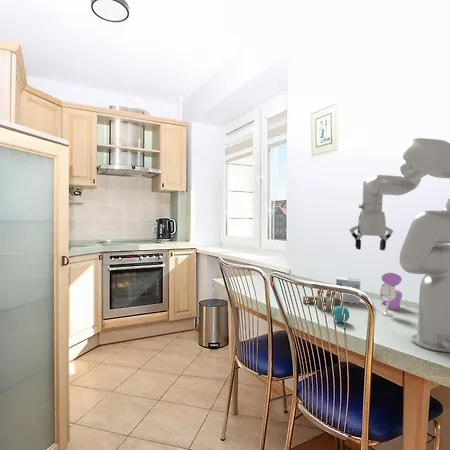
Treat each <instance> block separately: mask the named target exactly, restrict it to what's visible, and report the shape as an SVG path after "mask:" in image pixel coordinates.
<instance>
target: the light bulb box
mask: <svg viewBox="0 0 450 450" xmlns="http://www.w3.org/2000/svg"><path fill="white" fill-rule="evenodd" d="M335 281H336V283H335V286H336V285H340V286H347V287H352V288H356V289H359V290H360V291H361V278H353V277H342V276H341V277H340V276H338V277H336V279H335ZM335 297H337V298H340V294H339V293H336V292H335ZM344 302H349V303H348V304H353V303H356V304H355V305H359V304H360V302H361V297H360V298H358V297H356V296H353V295H348V294H343V302H341V300H340V303H344Z"/></svg>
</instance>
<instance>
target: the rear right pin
mask: <svg viewBox="0 0 450 450" xmlns="http://www.w3.org/2000/svg"><path fill="white" fill-rule="evenodd" d="M332 294H333V295H332V298H333V306H334V308H335V306H336V305H335V297H336V291H335V292H332Z"/></svg>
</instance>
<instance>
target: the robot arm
mask: <svg viewBox="0 0 450 450" xmlns="http://www.w3.org/2000/svg"><path fill="white" fill-rule="evenodd" d="M399 170H400V173H401V175H386V174H377V175H374V176H372V177H368V178H365V179H364V180H363V184H362V185H363V186H362V203H361V204H359V205H358V208H359V209H361V211H360V212H359V215H358V221H357V222H358V223H357V224H356V225H355V226H352V227H350V228H349V232H350V235H351V236H352V237H353V238H354V240H355V248H356V249H355V250H361V249H362V248H361V247H362V239H361V238H363V236H371V237H373V236H375V237H379V239H380V240H379V250H380V251H386V248H387V247H386V246H387V241H388V240H389V238H391V236H392V234H393V232H394V229H392V228H390V227H388V226H387V225H386V223H387V222H386V215H385V211H383V196H388V195H389V196H402V195H403V196H404V195H405V194H408V193H410V192H411V191H414V190H415V189H416V188H417V187H419V184H420V183H421V180H422V178H424V177H425V176H431V177H434V178H438V179H450V142H449V141H446V140H442V139H434V138H425V137H424V138H423V137H418V138H414V139H412V140H410V141H409V142H408V143H406V145H405V147H404V149H403V150H402V161H401V163H400V165H399ZM355 231H357V234H356V232H355ZM400 249H401V250H400V252H399V264H400V267H401V269H403V270H404V271H405V272H407V273H408V274H414V275H424V276H423V278H422V280H421V283H420V285H419V295H418V311H417V312H418V315H417V316H418V318H417V333H416V334H413V335H412V336H411V342H413V343H414V344H415V345H417V346H419V347H422V348H423V349H427V350H431V351H435V350H436V352H441V351H442V352H441V353H450V195H449V197H448V199H447V201H446V204H445V206H444V207H443V208H442V209H441V210H424V211H422V212H420V213H419V214H417V215H416V216H415V217H414V218H413V220H412V222H411V225H410V226H409V229H408V231H407V233H406V237H405V238H404V241H403V244H402V246H401V248H400Z"/></svg>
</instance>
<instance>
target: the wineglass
mask: <svg viewBox="0 0 450 450" xmlns="http://www.w3.org/2000/svg"><path fill="white" fill-rule="evenodd" d="M395 290H396V286H393V285H387V284H385V283H383V284H381V286H380V289H379V296H380V298H381V299H382V301H383V300H385V301H387V302H386V306H385V308H386V309H385V312H381V313H380V315H381V316H384V317H393V314H392V313H389V312H388V310H389V309H388V304H389V303H388V301H392V300H394V299H395V296H396V292H395Z"/></svg>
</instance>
